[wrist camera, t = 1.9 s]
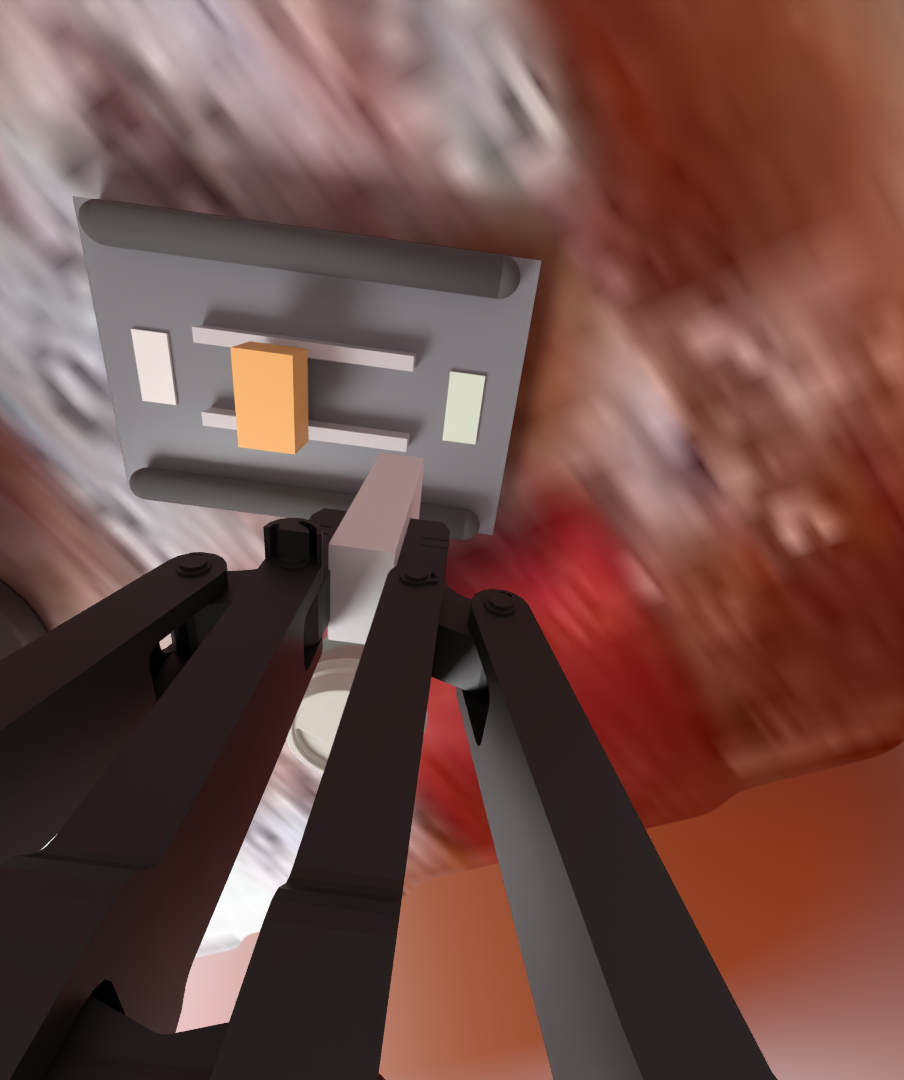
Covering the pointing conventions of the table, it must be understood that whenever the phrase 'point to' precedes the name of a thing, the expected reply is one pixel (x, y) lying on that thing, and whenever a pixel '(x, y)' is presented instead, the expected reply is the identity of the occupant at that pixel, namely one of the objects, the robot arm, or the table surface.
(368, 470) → the slide switch panel
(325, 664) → the coffee cup
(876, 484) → the table surface
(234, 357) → the lever
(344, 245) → the pair of grey bars
